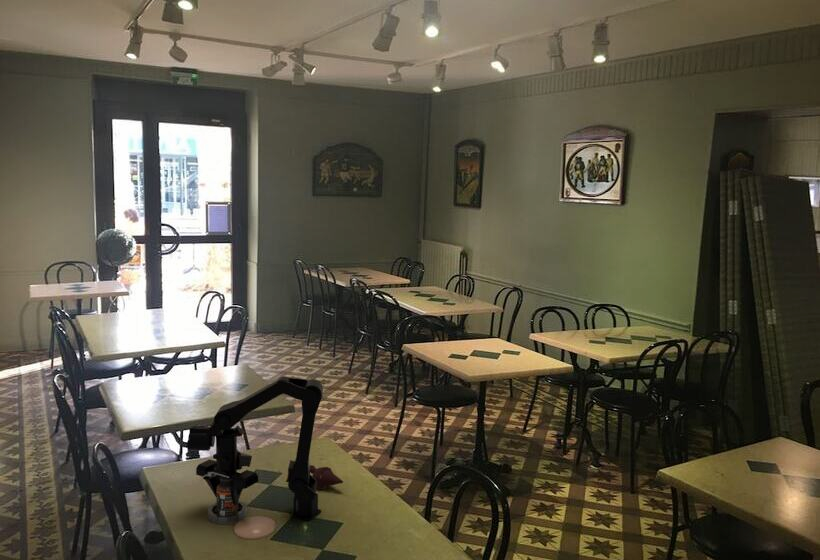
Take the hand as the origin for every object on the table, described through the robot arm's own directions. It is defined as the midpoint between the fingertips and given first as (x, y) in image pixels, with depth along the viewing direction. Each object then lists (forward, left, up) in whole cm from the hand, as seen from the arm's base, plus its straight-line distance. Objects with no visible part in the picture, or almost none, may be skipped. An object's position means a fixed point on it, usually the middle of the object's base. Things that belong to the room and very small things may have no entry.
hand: (227, 501), depth 189 cm
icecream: (-14, -29, -4) cm, 32 cm away
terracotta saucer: (-12, +2, -4) cm, 13 cm away
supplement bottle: (0, 0, -4) cm, 4 cm away
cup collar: (0, 0, -4) cm, 4 cm away
